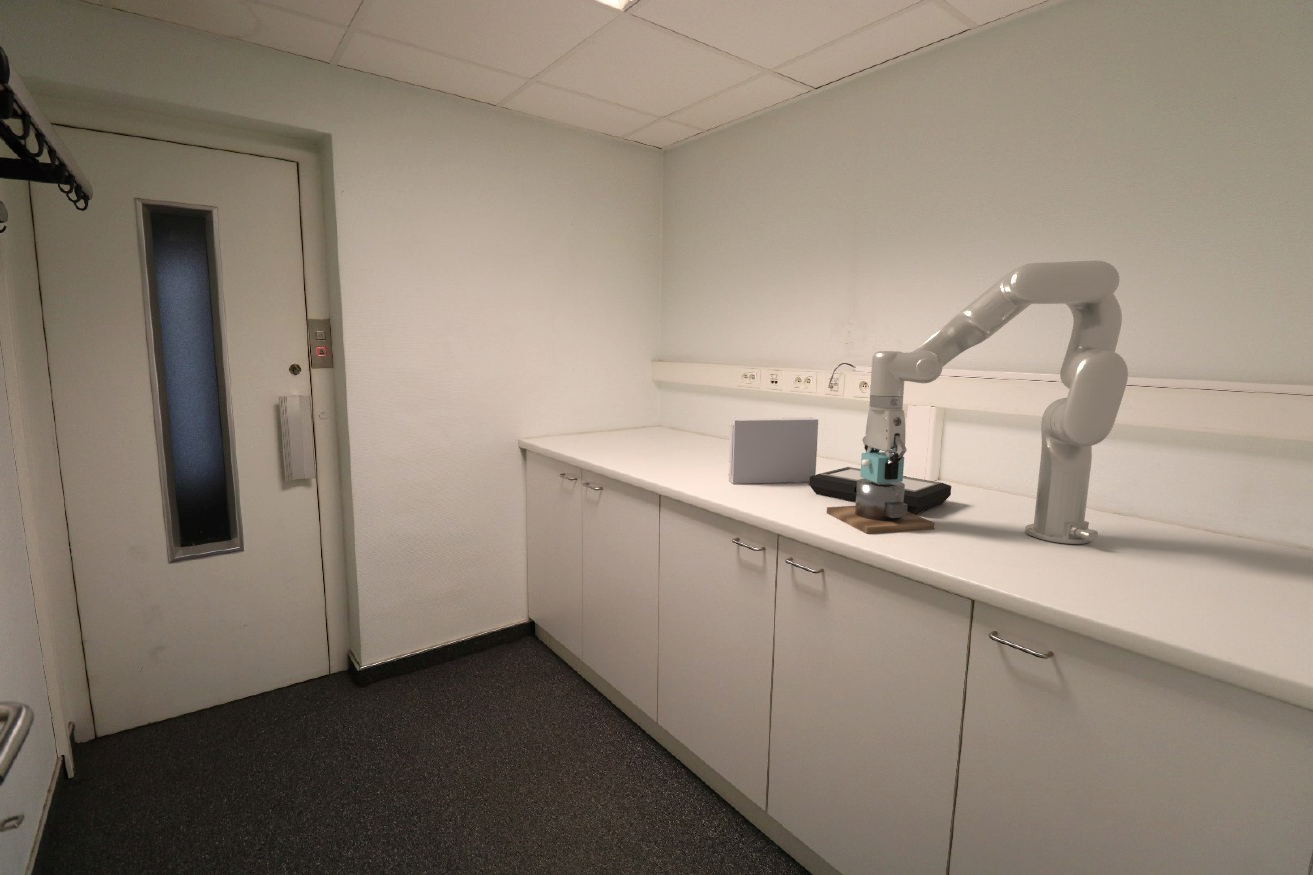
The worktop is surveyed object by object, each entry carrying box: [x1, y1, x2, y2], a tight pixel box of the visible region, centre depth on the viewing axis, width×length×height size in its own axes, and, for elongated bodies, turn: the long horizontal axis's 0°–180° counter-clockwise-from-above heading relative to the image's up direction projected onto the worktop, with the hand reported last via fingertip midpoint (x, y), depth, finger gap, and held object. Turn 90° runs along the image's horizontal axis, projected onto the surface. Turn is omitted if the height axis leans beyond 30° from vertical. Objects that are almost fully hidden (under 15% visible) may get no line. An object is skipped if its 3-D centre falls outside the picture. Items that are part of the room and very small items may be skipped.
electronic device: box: [808, 466, 952, 515], centre depth 173 cm, size 32×6×20 cm
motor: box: [854, 478, 908, 521], centre depth 150 cm, size 14×11×10 cm
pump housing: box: [860, 451, 905, 483], centre depth 150 cm, size 7×9×6 cm
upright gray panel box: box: [728, 417, 819, 485], centre depth 194 cm, size 6×27×20 cm, turn 100°
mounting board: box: [826, 505, 935, 535], centre depth 152 cm, size 18×18×2 cm
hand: (881, 475), depth 150 cm, fingers closed on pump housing, 7 cm apart
